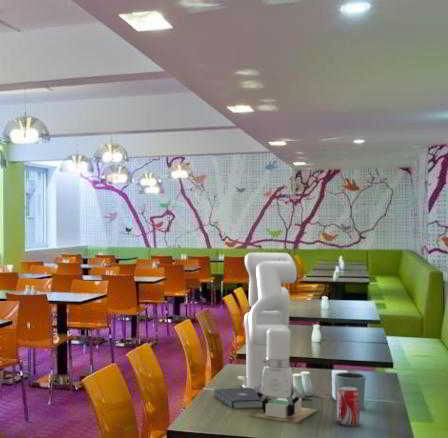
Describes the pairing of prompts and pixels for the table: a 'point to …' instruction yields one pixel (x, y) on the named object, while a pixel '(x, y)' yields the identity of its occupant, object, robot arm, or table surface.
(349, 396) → the soda can
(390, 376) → the table surface
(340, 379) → the grey cup
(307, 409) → the mat
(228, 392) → the book
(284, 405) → the packet
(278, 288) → the robot arm
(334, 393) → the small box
